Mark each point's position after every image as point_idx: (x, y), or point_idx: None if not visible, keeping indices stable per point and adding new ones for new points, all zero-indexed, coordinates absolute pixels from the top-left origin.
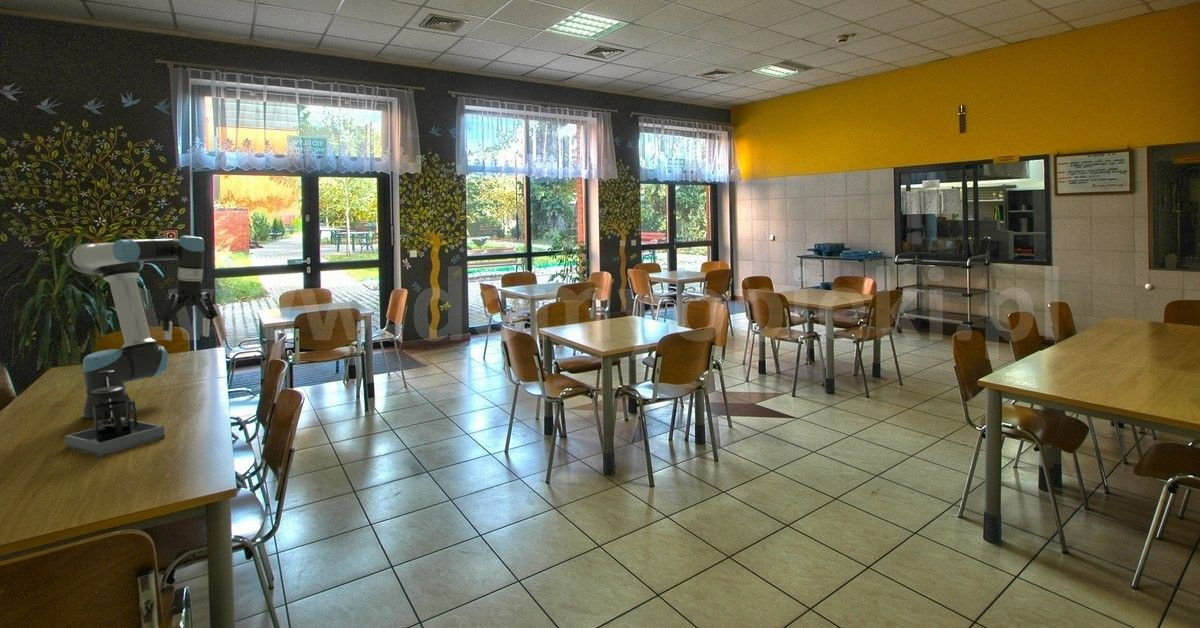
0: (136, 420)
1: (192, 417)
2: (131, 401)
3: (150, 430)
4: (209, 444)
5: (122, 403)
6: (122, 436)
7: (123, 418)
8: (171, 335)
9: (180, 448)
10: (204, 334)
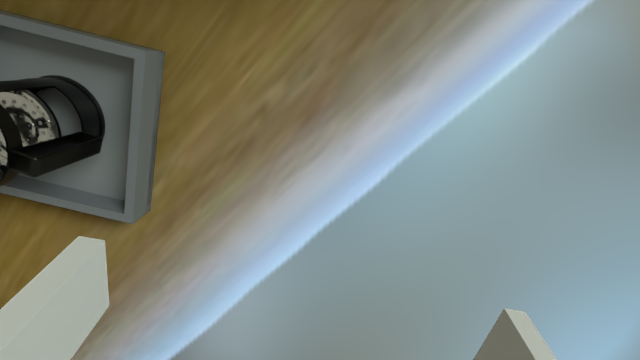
0: (86, 157)
1: (319, 131)
2: (23, 173)
3: (97, 214)
4: (152, 337)
5: (14, 135)
6: (27, 191)
7: (48, 136)
8: (73, 350)
9: (111, 301)
10: (496, 348)
